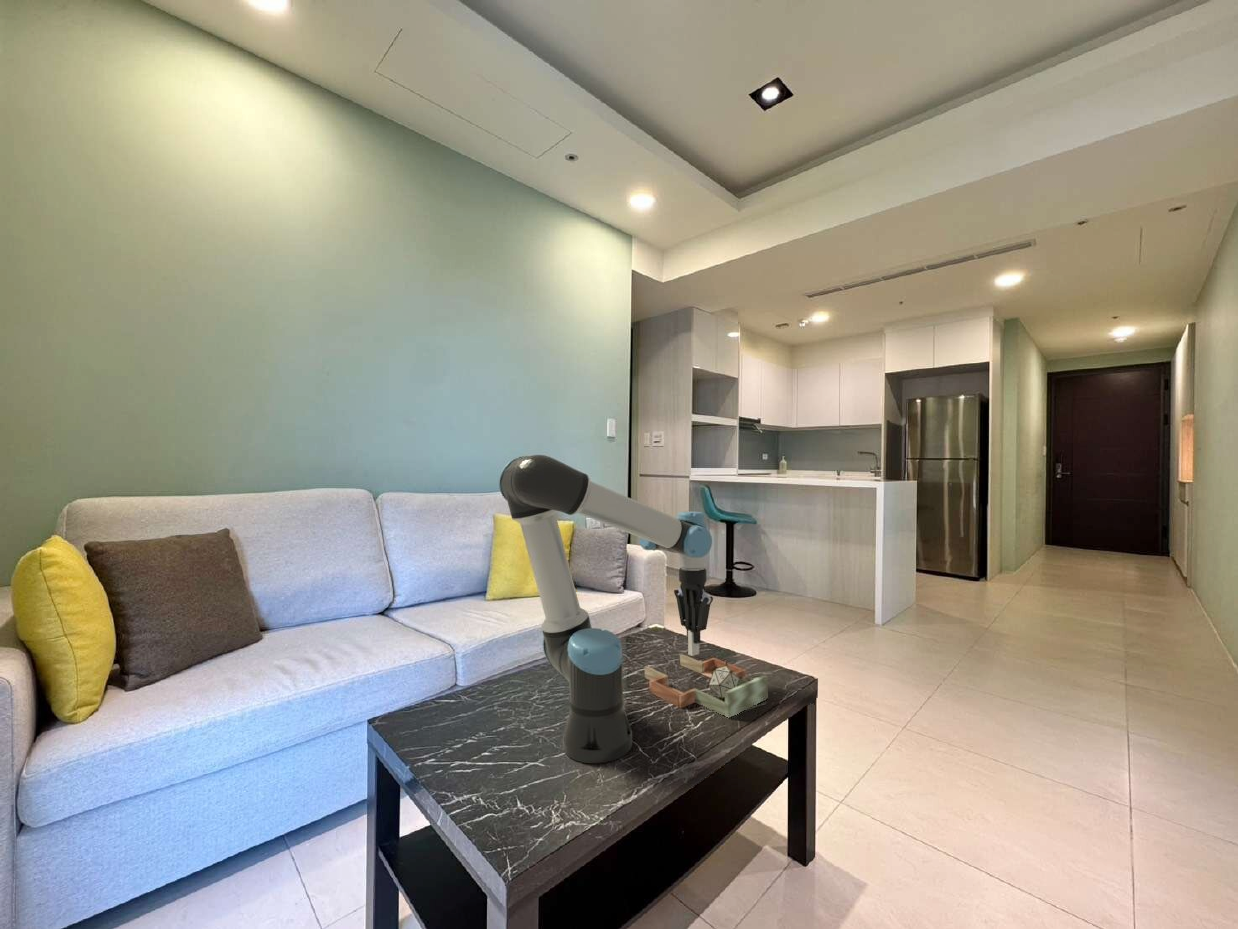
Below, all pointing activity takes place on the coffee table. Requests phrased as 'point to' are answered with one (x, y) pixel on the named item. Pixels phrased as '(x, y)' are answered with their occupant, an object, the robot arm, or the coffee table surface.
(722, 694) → the game die
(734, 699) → the trap box
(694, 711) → the coffee table surface
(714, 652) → the coffee table surface
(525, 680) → the coffee table surface
